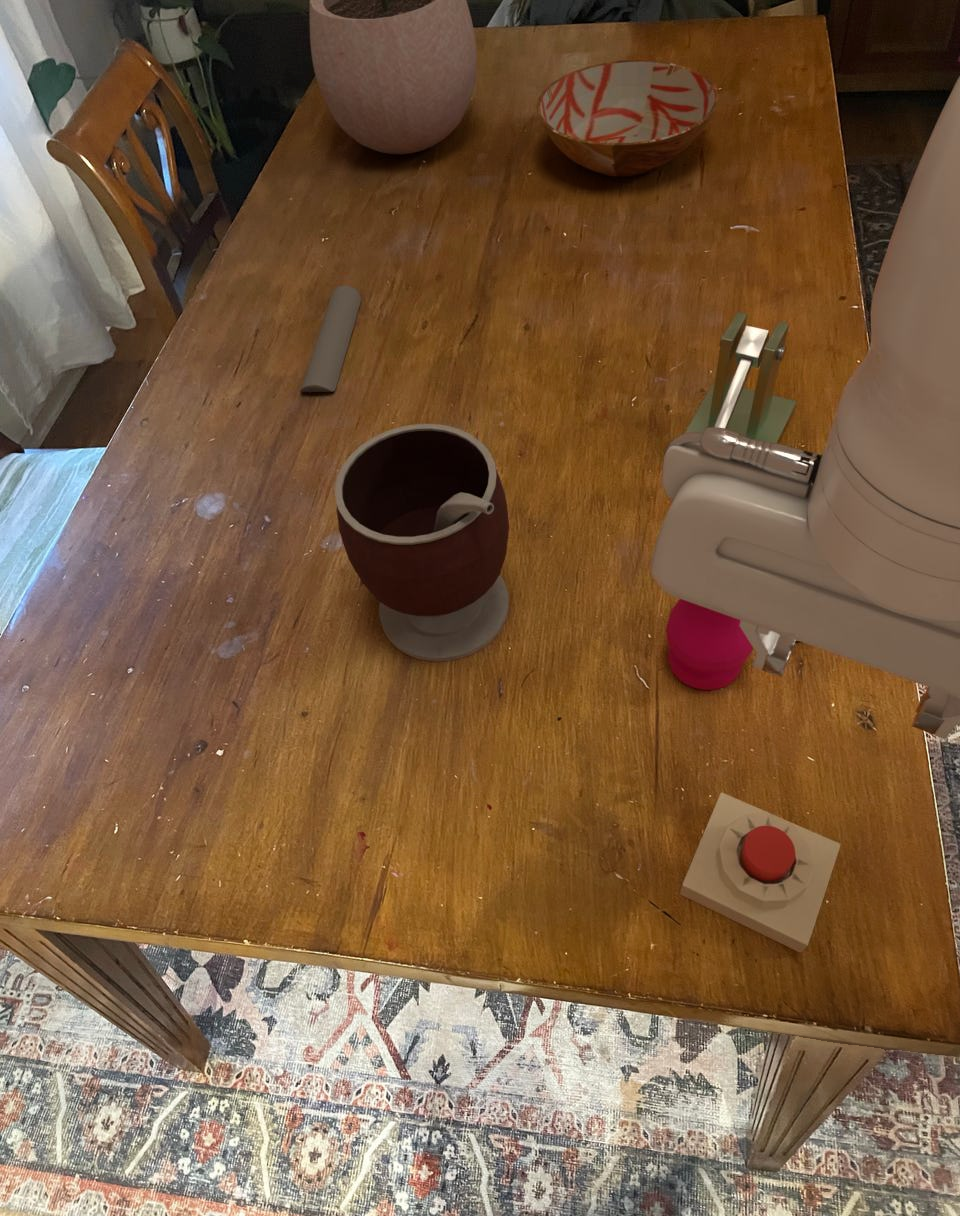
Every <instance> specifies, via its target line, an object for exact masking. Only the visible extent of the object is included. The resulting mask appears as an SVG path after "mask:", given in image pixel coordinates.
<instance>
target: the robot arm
mask: <svg viewBox="0 0 960 1216" xmlns="http://www.w3.org/2000/svg"><path fill="white" fill-rule="evenodd" d="M929 136H930V137H929V139H928V141H927V143H926V146H925V148H924V151H923V152H922V155H921V158H920V160H919V162H918V165H917V168H916V169H915V173H914V175H913V177H912V180H911V182H910V185H909V188H908V191H907V193H906V196H905V198H904V200H903V203H902V206H901V209H900V211H899V214H898V217H897V219H896V223H895V225H894V228H893V231H892V234H891V237H890V240H889V243H888V245H887V249H886V252H885V255H884V258H883V261H882V264H881V267H880V270H879V273H878V276H877V279H876V283H875V287H874V290H873V293H872V299H871V306H870V332H871V335H870V337H871V339H870V345H869V349H868V351H867V353H866V354H865V356H864V358H863V360H862V361H861V362H860V363H859V365H858V366H856V369H855V370H854V371H853V372H852V374H851V376H850V377H849V379H848V381H847V383H846V384H845V386H844V388H843V390H842V392H841V395H840V397H839V401H838V404H837V407H836V411H835V414H834V417H833V420H832V423H831V426H830V430H829V432H828V436H827V439H826V442H825V445H824V449H823V452H822V454H819V453H815V452H812V451H808V450H804V449H801V448H798V447H794V446H790V445H787V444H783V443H779V444H778V443H773V444H772V442H764V441H758V440H755V439H751V438H748V437H745V436H741V435H740V433H738V432H735V431H732V430H729V429H725V428H719V427H707V428H706V429H705V431H704V433H700V432H691V433H685V432H684V433H685V434H684V433H682V434H680V435H678V436H675V437H674V438H673V439H671V440H670V441H669V442H668V444H667V446H666V447H665V450H664V452H663V460H662V469H661V470H662V471H661V485H662V488H663V491H664V493H665V494H666V496H667V497H668V498H669V500H670V501H671V504H670V506H669V508H668V509H667V512H666V514H665V515H664V518H663V521H662V524H661V526H660V529H659V531H658V534H657V537H656V541H655V545H654V548H653V552H652V557H651V562H650V569H649V573H650V575H651V577H652V578H653V580H654V581H655V583H656V584H657V585H658V587H659V588H660V589H661V590H662V591H663V592H664V593H665V594H667V595H669V596H671V597H674V598H677V599H682V600H685V601H688V602H691V603H694V604H697V605H699V606H702V607H705V608H708V609H711V610H714V611H716V612H719V613H722V614H725V615H728V616H730V617H733V618H736V619H739V620H741V621H740V625H739V626H740V628H741V629H742V631H743V632H744V634H745V636H746V637H747V639H748V640H749V642H750V643H751V645H752V647H753V650H754V651H756V654H755V657H754V660H753V663H752V668H753V669H756V670H759V671H763V672H765V673H768V674H771V675H774V676H777V677H779V678H782V677H783V674H784V672H785V670H786V667H787V664H788V662H789V660H790V657H791V655H792V652H793V649H794V648H795V647H794V646H795V644H796V642H801V643H803V644H805V645H809V646H812V647H815V648H817V649H821V650H823V651H826V652H829V653H832V654H835V655H837V656H840V657H843V658H845V659H848V660H852V661H854V662H857V663H860V664H862V665H864V666H865V665H866V666H868V667H870V668H873V669H877V670H879V671H882V672H885V673H888V674H891V675H892V676H895V677H899V678H901V679H904V680H907V681H910V682H913V683H916V684H919V685H922V686H924V687H926V690H925V692H924V693H922V695H921V697H920V699H919V701H918V704H917V706H916V708H915V709H916V710H915V712H916V714H915V716H914V717H913V719H912V723H911V727H913V728H915V729H917V730H920V731H923V732H926V733H927V734H929V735H930V734H931V735H933V736H936V737H937V738H941V739H942V740H943V739H944V740H945V739H947V738H948V737H949V735H950V734H951V733H952V731H953V730H954V728H955V727H956V726H960V75H959V76H958V78H957V80H956V81H955V84H954V86H953V88H952V90H951V92H950V94H949V96H948V98H947V99H946V101H945V104H944V106H943V108H942V110H941V112H940V115H939V117H938V118H937V121H936V123H935V126H934V128H933V130H932V132H931V135H929ZM796 640H798V641H796Z"/></svg>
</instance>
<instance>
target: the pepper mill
mask: <svg viewBox="0 0 960 1216" xmlns="http://www.w3.org/2000/svg"><path fill="white" fill-rule="evenodd" d="M740 621H741V620H739V619H736V618H733V617H730V616H728V615H725V614H722V613H719V612H716V611H714V610H711V609H708V608H705V607H702V606H699V605H697V604H694V603H691V602H688V601H685V600H682V599H680V598H678V600H677V602H676V604H675V605H674V606H673V608H672V609H671V612H670V613H669V616H668V619H667V622H666V626H665V627H666V628H665V635H666V636H665V637H666V641H667V645H668V647H669V648H668V654H667V655H668V656H667V657H668V659H667V660H668V664H669V667H670V669H671V671H672V673H673V674H674V676H675V677H676V678H677V679H678V680H680V682H682V683H683V684H685V685H686V686H688V687H691V688H694V689H698V690H702V691H714V690H719V689H722V688H725V687H727V686H729V685H730V684H731V683H734V681H735V680H736V679H737V677H738V676H739V675H740V673H741V670H742V667H743V663H744V662H746V660H747V659H748V658H749V657H750V655H751V653H752V652H753V650H754V648H753V647H752V645H751V643H750V642H749V640H748V639H747V637H746V636H745V634H744V632H743V631H742V629H741V628H740V626H739V625H740Z"/></svg>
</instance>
